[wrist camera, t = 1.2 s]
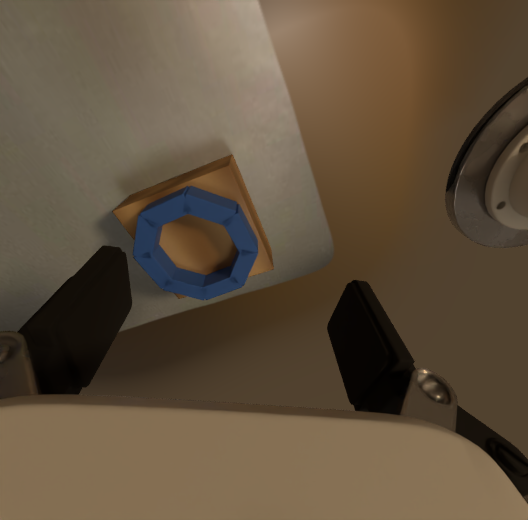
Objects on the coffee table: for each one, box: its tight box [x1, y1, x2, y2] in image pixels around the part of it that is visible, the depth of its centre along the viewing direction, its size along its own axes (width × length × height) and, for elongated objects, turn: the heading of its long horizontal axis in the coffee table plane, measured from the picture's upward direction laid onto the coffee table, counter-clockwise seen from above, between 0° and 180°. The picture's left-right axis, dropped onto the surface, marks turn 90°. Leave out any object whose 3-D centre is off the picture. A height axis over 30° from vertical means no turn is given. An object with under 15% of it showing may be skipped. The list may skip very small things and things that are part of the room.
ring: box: [133, 186, 258, 300], centre depth 23 cm, size 10×10×2 cm
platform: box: [113, 154, 274, 299], centre depth 25 cm, size 11×11×4 cm
